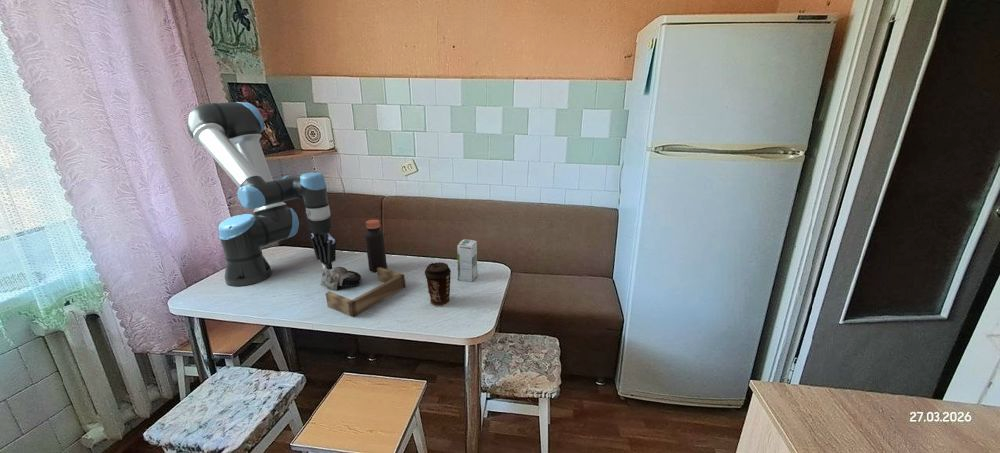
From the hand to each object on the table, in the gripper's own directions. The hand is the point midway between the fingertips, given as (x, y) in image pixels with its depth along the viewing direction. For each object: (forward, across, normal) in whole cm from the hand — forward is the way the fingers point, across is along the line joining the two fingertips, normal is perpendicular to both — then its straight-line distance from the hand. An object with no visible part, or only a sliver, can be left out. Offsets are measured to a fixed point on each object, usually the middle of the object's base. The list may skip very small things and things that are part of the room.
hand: (329, 278), depth 146 cm
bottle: (+2, +7, +17) cm, 18 cm away
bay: (+2, +20, 0) cm, 20 cm away
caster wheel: (+2, +6, +2) cm, 7 cm away
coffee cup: (+2, +44, +10) cm, 45 cm away
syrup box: (+2, +42, +29) cm, 51 cm away
